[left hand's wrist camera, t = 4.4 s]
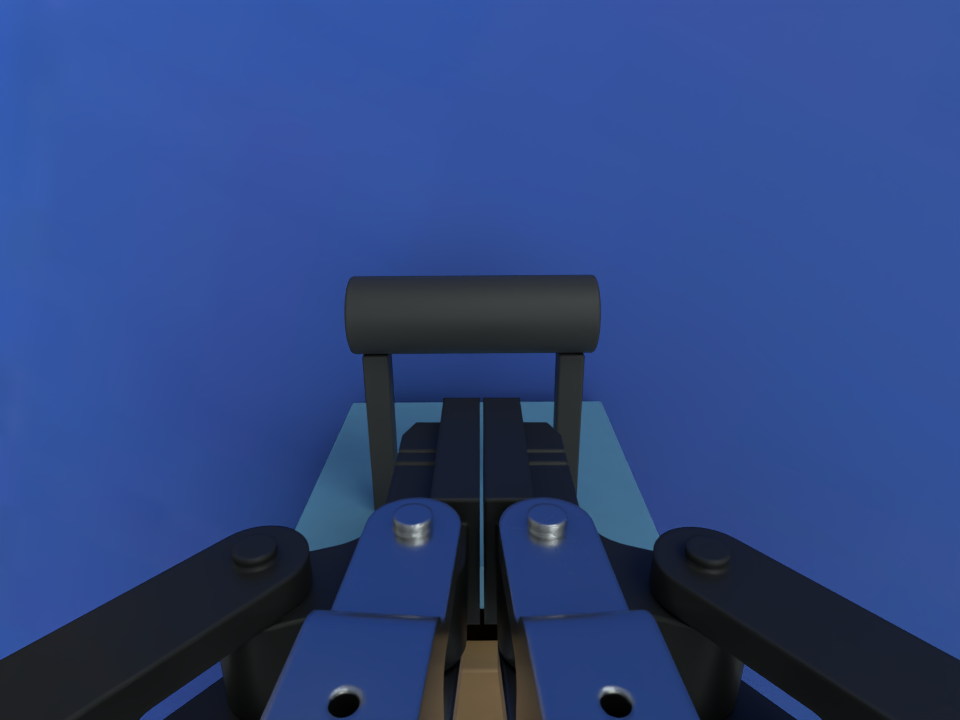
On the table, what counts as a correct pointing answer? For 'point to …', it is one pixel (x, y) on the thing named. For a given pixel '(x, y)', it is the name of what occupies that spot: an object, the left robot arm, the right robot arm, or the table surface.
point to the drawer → (480, 329)
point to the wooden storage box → (480, 682)
